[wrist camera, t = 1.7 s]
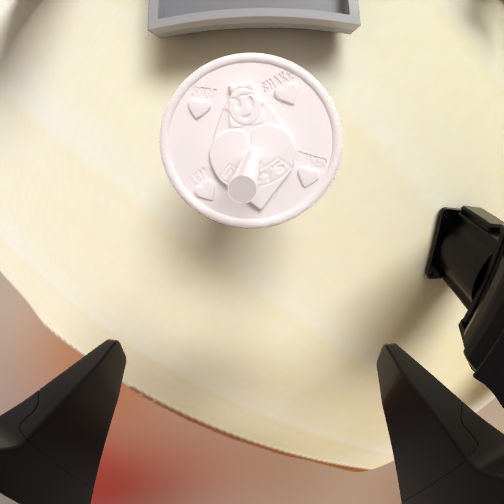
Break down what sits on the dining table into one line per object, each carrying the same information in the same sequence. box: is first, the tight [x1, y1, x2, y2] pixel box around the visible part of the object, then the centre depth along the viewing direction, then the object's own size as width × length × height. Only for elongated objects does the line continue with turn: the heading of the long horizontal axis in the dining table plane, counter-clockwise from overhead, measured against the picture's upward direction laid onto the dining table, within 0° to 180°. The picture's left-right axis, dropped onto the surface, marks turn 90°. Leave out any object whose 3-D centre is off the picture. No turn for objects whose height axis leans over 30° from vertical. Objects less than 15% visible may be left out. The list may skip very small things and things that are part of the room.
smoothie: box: [159, 53, 343, 228], centre depth 11 cm, size 6×6×14 cm
